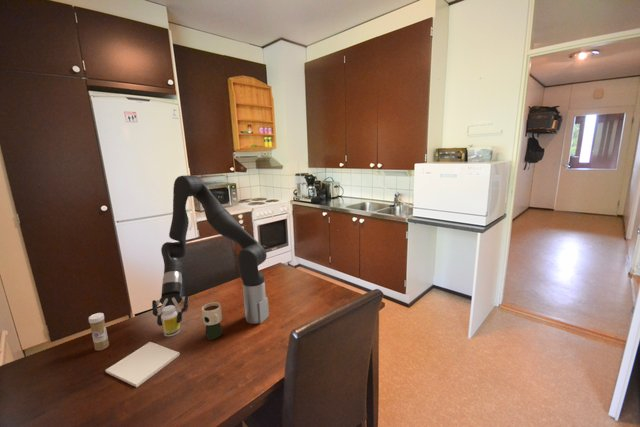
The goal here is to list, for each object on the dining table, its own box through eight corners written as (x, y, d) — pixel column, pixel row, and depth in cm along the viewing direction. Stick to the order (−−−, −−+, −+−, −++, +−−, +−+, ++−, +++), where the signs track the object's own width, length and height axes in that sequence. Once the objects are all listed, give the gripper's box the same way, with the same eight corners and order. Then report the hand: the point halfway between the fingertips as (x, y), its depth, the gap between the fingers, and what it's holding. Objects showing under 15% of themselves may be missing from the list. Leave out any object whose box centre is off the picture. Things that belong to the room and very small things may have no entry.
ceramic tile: (179, 355, 105) (179, 352, 104) (136, 387, 90) (136, 384, 90) (150, 343, 111) (149, 341, 111) (105, 372, 97) (105, 370, 97)
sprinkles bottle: (93, 352, 107) (86, 320, 104) (96, 345, 111) (90, 314, 108) (108, 349, 109) (101, 317, 106) (110, 342, 113) (104, 311, 110)
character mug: (200, 333, 117) (196, 304, 114) (217, 326, 122) (214, 298, 119) (211, 346, 109) (207, 315, 106) (228, 338, 114) (225, 308, 111)
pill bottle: (183, 329, 120) (180, 305, 118) (171, 338, 114) (168, 313, 112) (172, 326, 122) (168, 303, 120) (160, 335, 116) (156, 310, 114)
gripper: (150, 283, 119) (146, 325, 111) (188, 278, 123) (187, 318, 114) (156, 289, 125) (152, 329, 117) (191, 284, 129) (190, 323, 120)
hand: (169, 323), depth 115 cm, fingers closed on pill bottle, 6 cm apart
